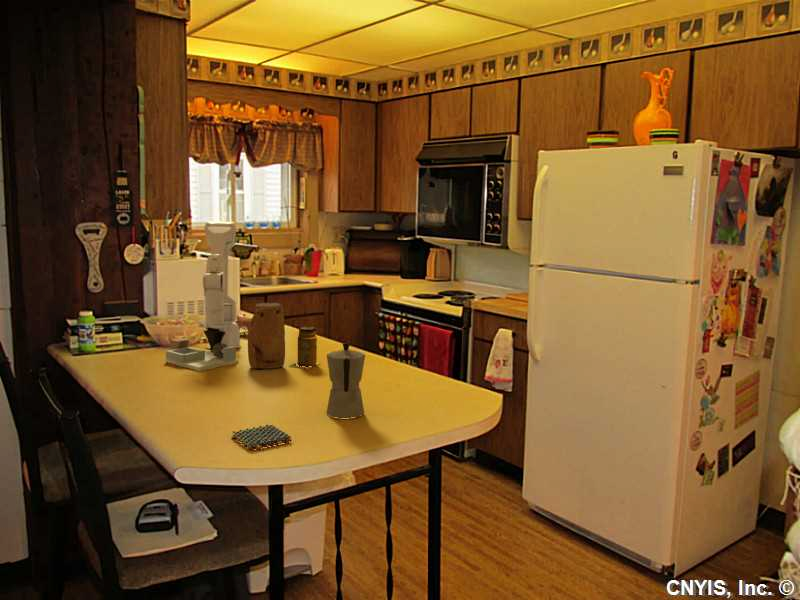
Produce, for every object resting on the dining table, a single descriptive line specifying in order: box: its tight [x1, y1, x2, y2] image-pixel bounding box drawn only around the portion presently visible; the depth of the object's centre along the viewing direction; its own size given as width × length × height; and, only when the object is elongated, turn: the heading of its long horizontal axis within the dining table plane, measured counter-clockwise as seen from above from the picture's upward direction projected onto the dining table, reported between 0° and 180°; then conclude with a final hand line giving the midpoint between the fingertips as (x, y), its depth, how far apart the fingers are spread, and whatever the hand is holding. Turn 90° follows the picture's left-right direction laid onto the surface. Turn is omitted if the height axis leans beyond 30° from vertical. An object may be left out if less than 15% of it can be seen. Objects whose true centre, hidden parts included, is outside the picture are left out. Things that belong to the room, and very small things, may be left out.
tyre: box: [212, 343, 228, 358], centre depth 219 cm, size 4×2×4 cm, turn 143°
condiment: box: [288, 326, 318, 370], centre depth 217 cm, size 7×8×12 cm
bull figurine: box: [236, 311, 252, 338], centre depth 263 cm, size 4×13×8 cm, turn 40°
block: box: [247, 302, 286, 370], centre depth 212 cm, size 11×8×20 cm
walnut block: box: [169, 337, 190, 350], centre depth 224 cm, size 4×4×6 cm
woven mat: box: [231, 424, 293, 450], centre depth 149 cm, size 10×11×2 cm
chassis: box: [165, 346, 239, 372], centre depth 217 cm, size 15×17×5 cm
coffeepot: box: [326, 342, 366, 418], centre depth 166 cm, size 15×9×18 cm, turn 6°
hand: (215, 351), depth 221 cm, fingers closed
